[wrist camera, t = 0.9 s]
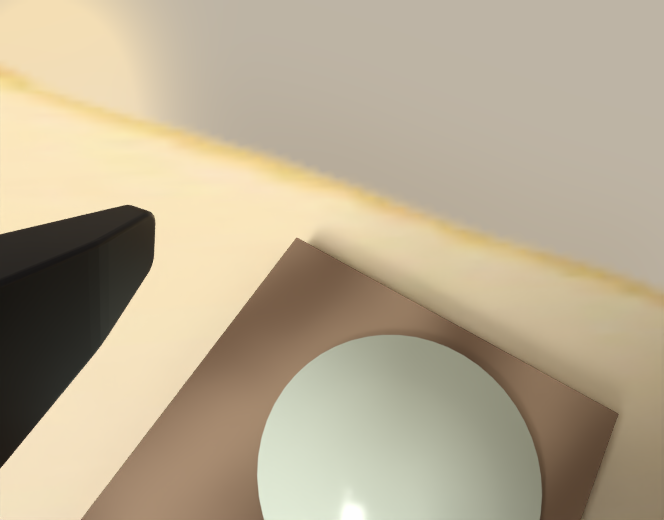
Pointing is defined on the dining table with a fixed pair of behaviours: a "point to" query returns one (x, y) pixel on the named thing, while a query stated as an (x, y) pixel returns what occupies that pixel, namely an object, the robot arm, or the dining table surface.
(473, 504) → the coaster
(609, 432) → the serving board
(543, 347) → the dining table surface
